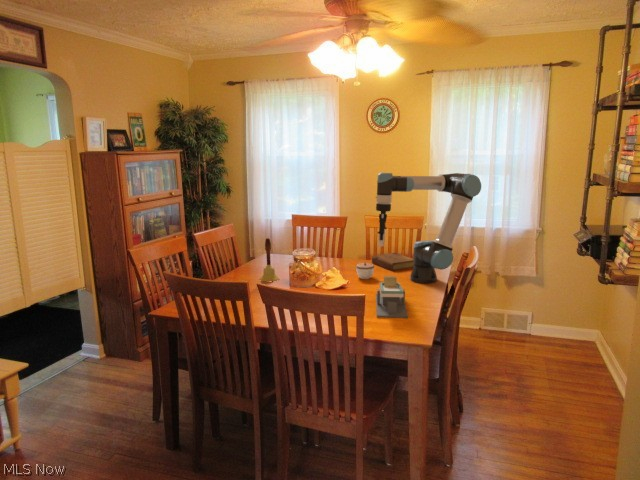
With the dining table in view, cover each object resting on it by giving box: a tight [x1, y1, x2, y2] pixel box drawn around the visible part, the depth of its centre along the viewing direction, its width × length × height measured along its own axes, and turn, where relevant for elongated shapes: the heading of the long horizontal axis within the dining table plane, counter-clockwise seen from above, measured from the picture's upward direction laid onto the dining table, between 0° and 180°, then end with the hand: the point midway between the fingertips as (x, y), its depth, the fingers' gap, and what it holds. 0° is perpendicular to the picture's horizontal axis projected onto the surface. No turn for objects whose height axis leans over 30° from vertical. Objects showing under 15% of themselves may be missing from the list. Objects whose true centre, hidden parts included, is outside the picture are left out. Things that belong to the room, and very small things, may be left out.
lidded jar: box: [355, 262, 375, 280], centre depth 273 cm, size 11×11×9 cm
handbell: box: [258, 237, 280, 282], centre depth 271 cm, size 12×12×25 cm
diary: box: [371, 252, 414, 272], centre depth 300 cm, size 23×19×6 cm
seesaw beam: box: [379, 282, 404, 297], centre depth 223 cm, size 10×28×3 cm, turn 174°
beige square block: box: [383, 275, 398, 287], centre depth 232 cm, size 6×6×5 cm
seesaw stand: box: [375, 288, 409, 319], centre depth 224 cm, size 14×32×8 cm, turn 174°
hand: (381, 243), depth 239 cm, fingers open, 13 cm apart
